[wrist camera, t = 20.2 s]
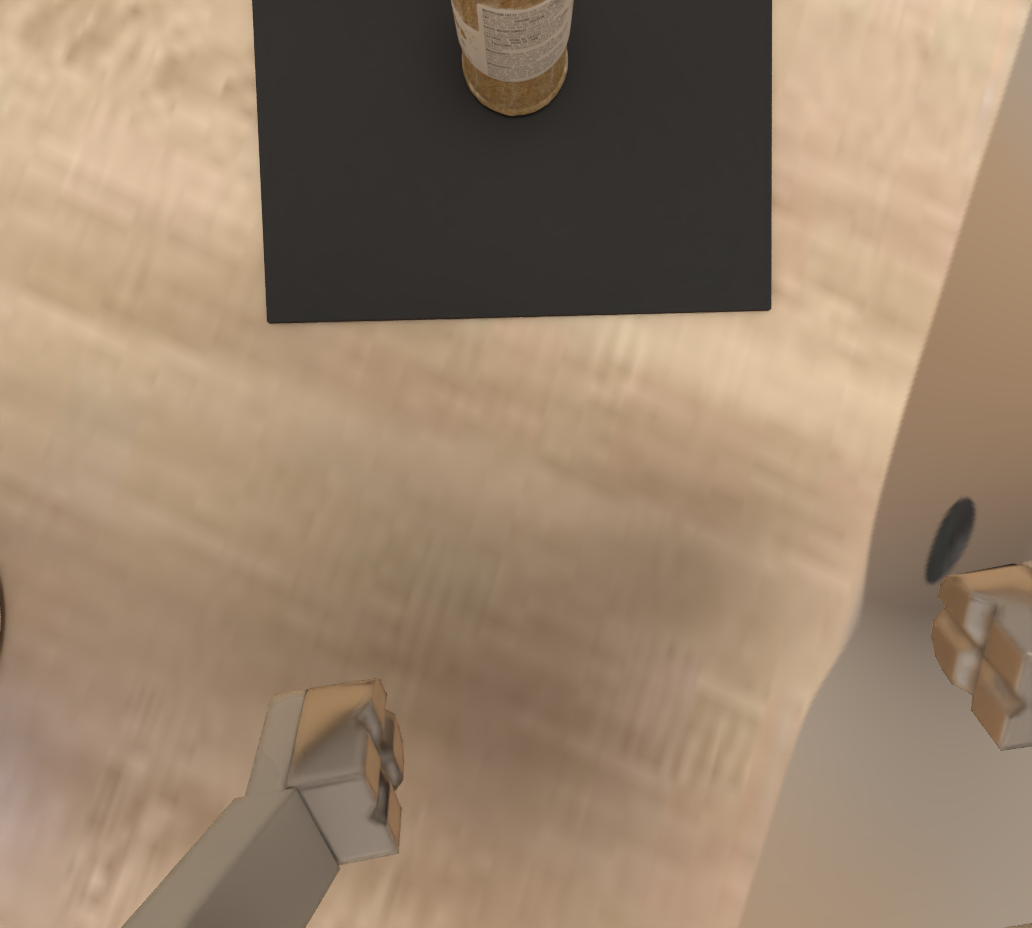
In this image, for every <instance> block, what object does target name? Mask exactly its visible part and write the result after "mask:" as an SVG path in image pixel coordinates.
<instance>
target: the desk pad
mask: <svg viewBox="0 0 1032 928" xmlns="http://www.w3.org/2000/svg"><path fill="white" fill-rule="evenodd" d="M252 6H253V27H254V49H255V70H256V92H257V113H258V135H259V156H260V178H261V200H262V221H263V243H264V264H265V286H266V307H267V322H268V323H304V322H343V321H382V320H422V319H461V318H500V317H539V316H578V315H617V314H656V313H695V312H734V311H768V310H771V198H772V0H574V1H573V10H572V19H571V28H570V34H569V38H568V42H567V51H568V69H567V73H566V77H565V80H564V82H563V85H562V87H561V88H560V90H559V92H558V93H557V95H556V96H555V97H554V98H553V99H552V100H551V102H550V103H549V104H548V105H546V106H544V107H543V108H541V109H539V110H538V111H535V112H532V113H529V114H525V115H516V116H508V115H505V114H501V113H499V112H496V111H494V110H491V109H490V108H488V107H487V106H485V105H483V104H482V103H481V102H480V101H479V100H478V99H477V98H476V97H475V96H474V94H473V93H472V92H471V90H470V88H469V86H468V84H467V82H466V79H465V76H464V73H463V68H462V48H461V45H460V43H459V39H458V36H457V30H456V25H455V20H454V14H453V9H452V4H451V0H252Z"/></svg>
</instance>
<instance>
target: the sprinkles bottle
mask: <svg viewBox="0 0 1032 928" xmlns="http://www.w3.org/2000/svg"><path fill="white" fill-rule="evenodd" d="M573 1H574V0H451V4H452V9H453V14H454V20H455V25H456V30H457V36H458V39H459V43H460V45H461V48H462V68H463V73H464V76H465V79H466V82H467V84H468V86H469V88H470V90H471V92H472V93H473V94H474V96H475V97H476V98H477V99H478V100H479V101H480V102H481V103H482V104H483V105H485V106H487V107H488V108H490V109H491V110H494V111H496V112H499V113H501V114H505V115H508V116H516V115H525V114H529V113H532V112H535V111H538V110H539V109H541V108H543V107H544V106H546V105H548V104H549V103H550V102H551V100H552V99H553V98H554V97H555V96H556V95H557V93H558V92H559V90H560V88H561V87H562V85H563V82H564V80H565V77H566V73H567V69H568V51H567V42H568V38H569V34H570V28H571V19H572V10H573Z"/></svg>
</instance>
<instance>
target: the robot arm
mask: <svg viewBox="0 0 1032 928" xmlns="http://www.w3.org/2000/svg"><path fill="white" fill-rule="evenodd" d="M938 598H939V599H940V601H941V602H942V603H943V604H944V606H945V608H944V609H943V610H942V611H941V612H940V613H939V614H938V615H937V617H936V618H935V619H934V620H933V626H932V634H931V639H932V644H933V649H934V653H935V657H936V659H937V661H938V663H939V665H940V667H941V669H942V671H943V672H944V674H945V675H946V676H947V678H948V679H949V681H950V682H951V684H952V685H954V686H956V687H958V688H960V689H962V690H964V691H965V692H968V693H969V694H971V695H973V698H972V706H971V711H972V712H973V714H974V715H975V716H976V718H977V719H978V720H979V722H980V723H981V725H982V726H983V727H984V729H985V730H986V731H987V733H988V734H989V735H990V737H991V738H992V739H993V741H994V742H995V743H996V745H997V746H998V748H999V749H1000V750H1001V751H1003V750H1010V749H1017V748H1024V747H1030V746H1032V561H1027V562H1021V563H1018V564H1009V565H1004V566H999V567H993V568H988V569H982V570H978V571H972V572H967V573H961V574H956V575H951V576H946V577H945V579H944V580H943V581H942V582H941V584H940V588H939V593H938ZM0 630H1V608H0ZM386 699H387V693H386V691H385V689H384V687H383V684H382V682H381V680H380V679H376V678H374V679H368V680H361V681H354V682H348V683H341V684H335V685H328V686H321V687H315V688H310V689H305V690H299V691H292V692H286V693H279V694H276V695H275V696H274V698H273V699H272V701H271V702H270V704H269V706H268V710H267V714H266V718H265V721H264V725H263V729H262V733H261V737H260V741H259V744H258V748H257V752H256V756H255V760H254V764H253V767H252V771H251V775H250V779H249V783H248V787H247V790H246V794H245V796H244V797H239V798H235V799H234V800H233V801H232V802H231V803H230V804H229V805H228V807H227V808H226V809H225V810H224V811H223V812H222V813H221V815H220V816H219V817H218V818H217V819H216V820H215V821H214V823H213V824H212V825H211V826H210V827H209V828H208V829H207V831H206V832H205V833H204V834H203V835H202V836H201V837H200V838H199V840H198V841H197V842H196V843H195V844H194V845H193V846H192V848H191V849H190V850H189V851H188V852H187V853H186V854H185V856H184V857H183V858H182V859H181V860H180V861H179V862H178V864H177V865H176V866H175V867H174V868H173V869H172V870H171V872H170V873H169V874H168V875H167V876H166V877H165V878H164V880H163V881H162V882H161V883H160V884H159V885H158V886H157V888H156V889H155V890H154V891H153V892H152V893H151V894H150V895H149V897H148V898H147V899H146V900H145V901H144V902H143V903H142V905H141V906H140V907H139V908H138V909H137V910H136V911H135V913H134V914H133V915H132V916H131V917H130V918H129V919H128V921H127V922H126V923H125V924H124V925H123V926H122V927H121V928H305V927H306V926H307V924H308V922H309V921H310V919H311V917H312V915H313V914H314V912H315V910H316V909H317V907H318V905H319V904H320V902H321V900H322V898H323V897H324V895H325V893H326V892H327V890H328V888H329V887H330V885H331V883H332V881H333V880H334V878H335V876H336V875H337V873H338V871H339V870H340V869H339V866H338V865H343V864H348V863H353V862H358V861H363V860H368V859H373V858H378V857H383V856H388V855H393V854H398V853H399V841H400V826H401V811H402V808H401V806H400V803H399V801H398V798H397V796H396V794H395V791H396V789H397V788H398V786H399V785H400V784H401V782H402V781H403V777H404V752H403V740H402V736H401V732H400V727H399V724H398V721H397V719H396V716H395V714H393V713H392V712H390V711H388V710H386ZM1006 928H1032V923H1030V924H1024V925H1018V926H1012V927H1006Z"/></svg>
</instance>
